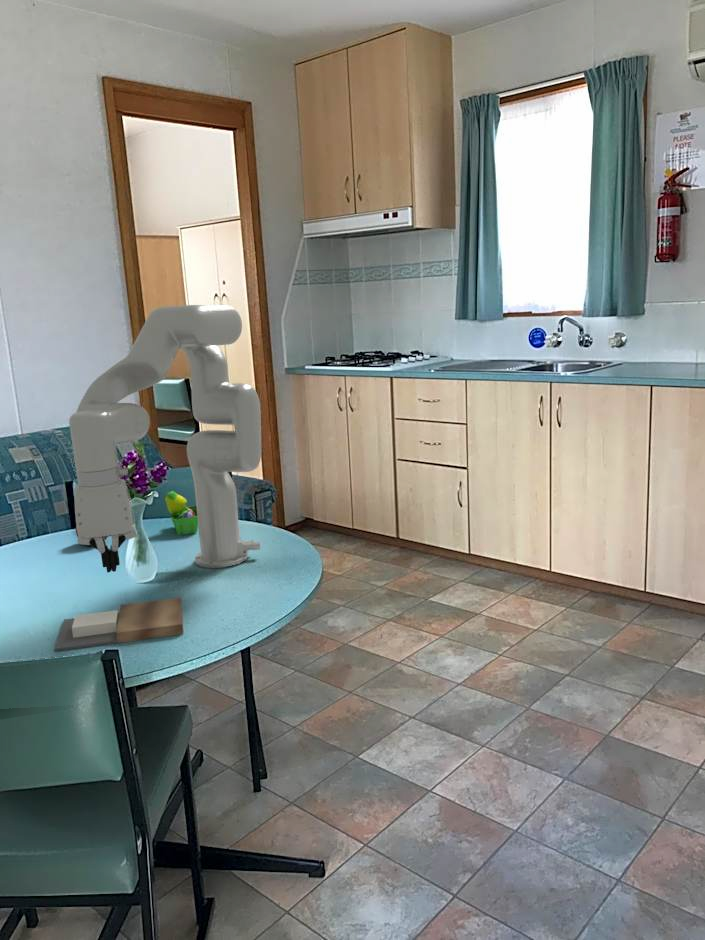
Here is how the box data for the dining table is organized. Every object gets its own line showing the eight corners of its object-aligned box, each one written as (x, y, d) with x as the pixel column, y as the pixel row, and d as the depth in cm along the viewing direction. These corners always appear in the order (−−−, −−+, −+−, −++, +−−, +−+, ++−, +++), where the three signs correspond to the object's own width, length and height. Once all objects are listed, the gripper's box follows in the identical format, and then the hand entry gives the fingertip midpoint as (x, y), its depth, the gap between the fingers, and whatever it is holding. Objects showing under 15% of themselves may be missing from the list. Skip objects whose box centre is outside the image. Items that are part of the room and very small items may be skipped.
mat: (121, 614, 157) (121, 612, 157) (117, 642, 144) (117, 640, 144) (64, 621, 155) (64, 619, 155) (54, 651, 142) (54, 648, 142)
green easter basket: (201, 534, 210) (198, 493, 208) (168, 537, 208) (164, 496, 206) (200, 522, 221) (197, 484, 219) (169, 526, 219) (165, 487, 217)
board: (181, 606, 160) (180, 597, 160) (183, 633, 147) (182, 623, 146) (121, 614, 157) (120, 605, 157) (117, 642, 144) (116, 632, 144)
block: (119, 619, 154) (117, 610, 153) (117, 631, 148) (116, 621, 147) (76, 625, 152) (75, 615, 151) (73, 637, 146) (71, 627, 146)
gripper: (140, 468, 149) (152, 557, 154) (59, 476, 146) (73, 568, 151) (139, 477, 142) (151, 571, 147) (53, 486, 139) (68, 582, 144)
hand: (111, 569), depth 149 cm, fingers closed
